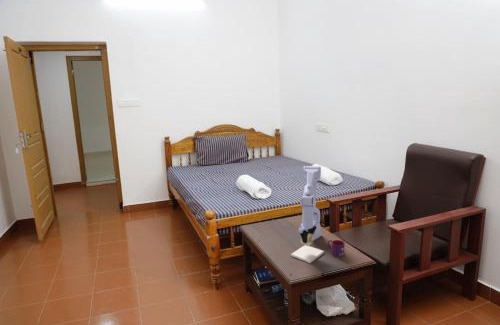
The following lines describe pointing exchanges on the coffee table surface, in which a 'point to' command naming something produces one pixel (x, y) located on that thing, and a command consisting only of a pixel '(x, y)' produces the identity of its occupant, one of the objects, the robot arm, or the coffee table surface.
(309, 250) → the ceramic tile
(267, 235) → the coffee table surface
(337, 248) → the mug
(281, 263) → the coffee table surface
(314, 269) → the coffee table surface
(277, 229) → the coffee table surface
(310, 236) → the maple cube
